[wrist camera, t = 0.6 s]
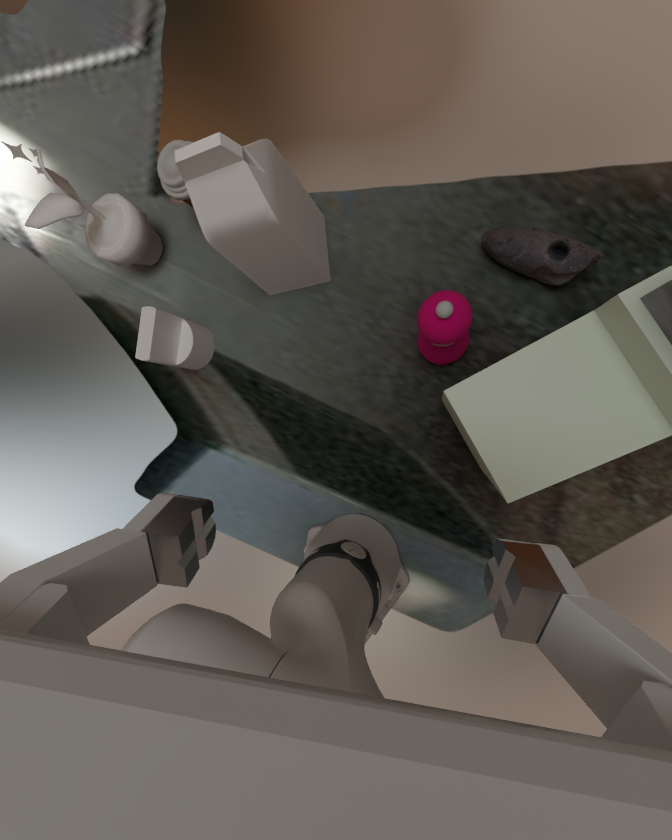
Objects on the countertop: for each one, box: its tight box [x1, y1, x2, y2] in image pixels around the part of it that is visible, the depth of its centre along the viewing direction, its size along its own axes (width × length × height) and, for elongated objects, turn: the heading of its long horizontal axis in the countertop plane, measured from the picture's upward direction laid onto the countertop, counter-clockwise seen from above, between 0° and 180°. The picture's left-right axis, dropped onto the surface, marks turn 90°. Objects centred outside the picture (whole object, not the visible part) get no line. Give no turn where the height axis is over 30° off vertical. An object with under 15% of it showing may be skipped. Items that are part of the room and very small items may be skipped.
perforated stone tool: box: [481, 226, 603, 286], centre depth 47 cm, size 15×5×7 cm, turn 60°
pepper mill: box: [417, 290, 472, 365], centre depth 44 cm, size 7×7×20 cm
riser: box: [442, 266, 672, 503], centre depth 37 cm, size 12×24×26 cm, turn 118°
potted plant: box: [1, 141, 163, 266], centre depth 58 cm, size 13×12×25 cm
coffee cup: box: [157, 140, 193, 207], centre depth 59 cm, size 9×9×12 cm
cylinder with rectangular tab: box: [135, 306, 214, 370], centre depth 62 cm, size 9×9×12 cm
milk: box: [175, 132, 331, 295], centre depth 48 cm, size 12×12×26 cm
